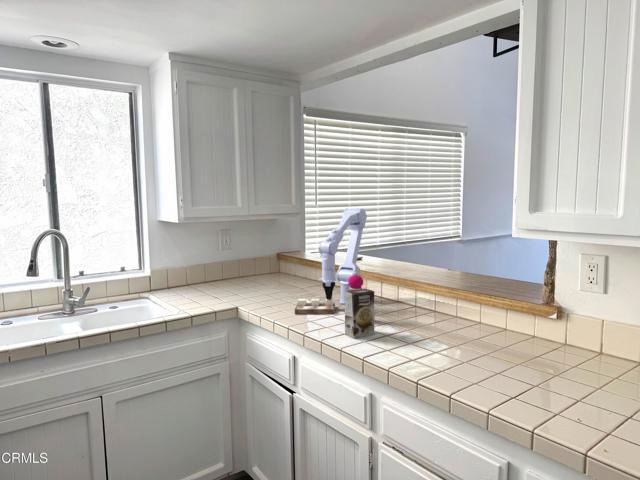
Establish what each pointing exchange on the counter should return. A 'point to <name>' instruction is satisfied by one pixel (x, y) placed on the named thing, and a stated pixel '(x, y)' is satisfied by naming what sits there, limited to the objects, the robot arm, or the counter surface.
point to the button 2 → (328, 302)
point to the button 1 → (301, 302)
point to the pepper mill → (355, 282)
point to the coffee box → (359, 313)
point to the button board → (315, 309)
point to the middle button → (315, 302)
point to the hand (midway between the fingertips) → (329, 299)
